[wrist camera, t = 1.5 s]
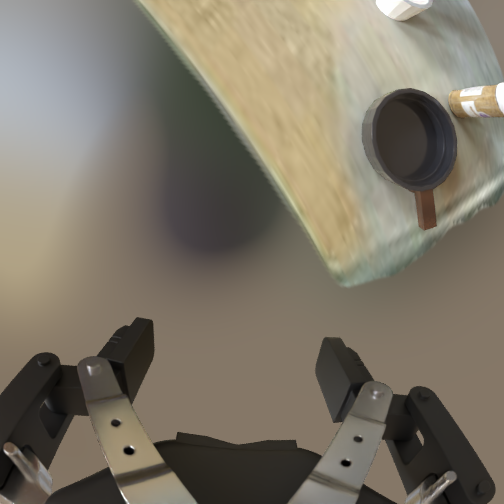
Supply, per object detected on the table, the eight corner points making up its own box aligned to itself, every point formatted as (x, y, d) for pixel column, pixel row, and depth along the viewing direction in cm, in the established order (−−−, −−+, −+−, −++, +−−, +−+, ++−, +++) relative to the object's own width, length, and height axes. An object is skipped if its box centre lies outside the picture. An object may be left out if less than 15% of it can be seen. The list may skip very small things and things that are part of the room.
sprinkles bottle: (450, 117, 28) (510, 118, 16) (444, 89, 26) (501, 79, 14) (470, 118, 27) (528, 120, 15) (464, 90, 26) (521, 84, 13)
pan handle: (406, 182, 33) (419, 187, 29) (418, 179, 32) (432, 183, 29) (412, 222, 35) (424, 230, 31) (424, 218, 35) (436, 226, 31)
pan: (348, 100, 30) (357, 95, 26) (427, 89, 27) (443, 85, 23) (373, 194, 34) (385, 201, 30) (447, 175, 32) (463, 180, 27)
